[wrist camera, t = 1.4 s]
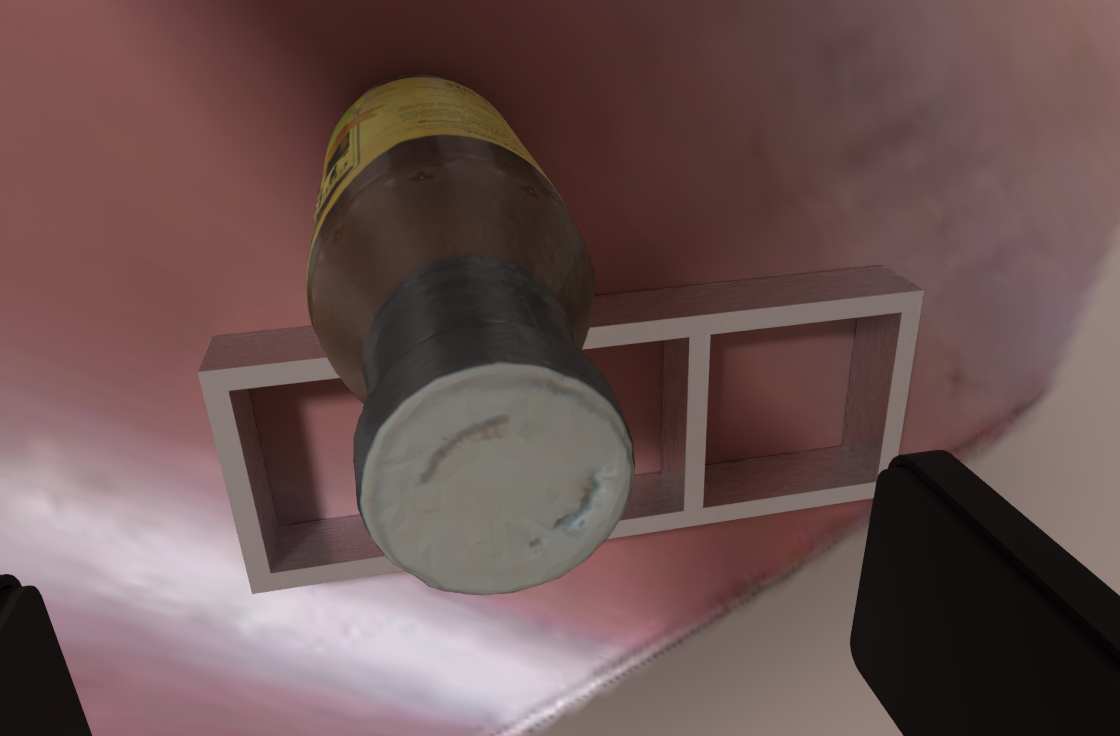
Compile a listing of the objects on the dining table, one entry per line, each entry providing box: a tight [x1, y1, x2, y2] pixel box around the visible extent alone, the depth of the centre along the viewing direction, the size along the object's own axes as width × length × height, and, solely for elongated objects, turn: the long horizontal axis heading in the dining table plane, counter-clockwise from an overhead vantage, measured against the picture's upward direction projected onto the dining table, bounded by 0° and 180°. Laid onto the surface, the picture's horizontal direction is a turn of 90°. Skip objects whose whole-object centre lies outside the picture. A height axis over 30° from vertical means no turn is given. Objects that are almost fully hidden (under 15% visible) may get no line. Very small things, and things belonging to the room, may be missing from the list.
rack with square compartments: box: [198, 265, 924, 594], centre depth 33 cm, size 9×26×3 cm, turn 92°
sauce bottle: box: [306, 74, 635, 595], centre depth 21 cm, size 6×6×20 cm
